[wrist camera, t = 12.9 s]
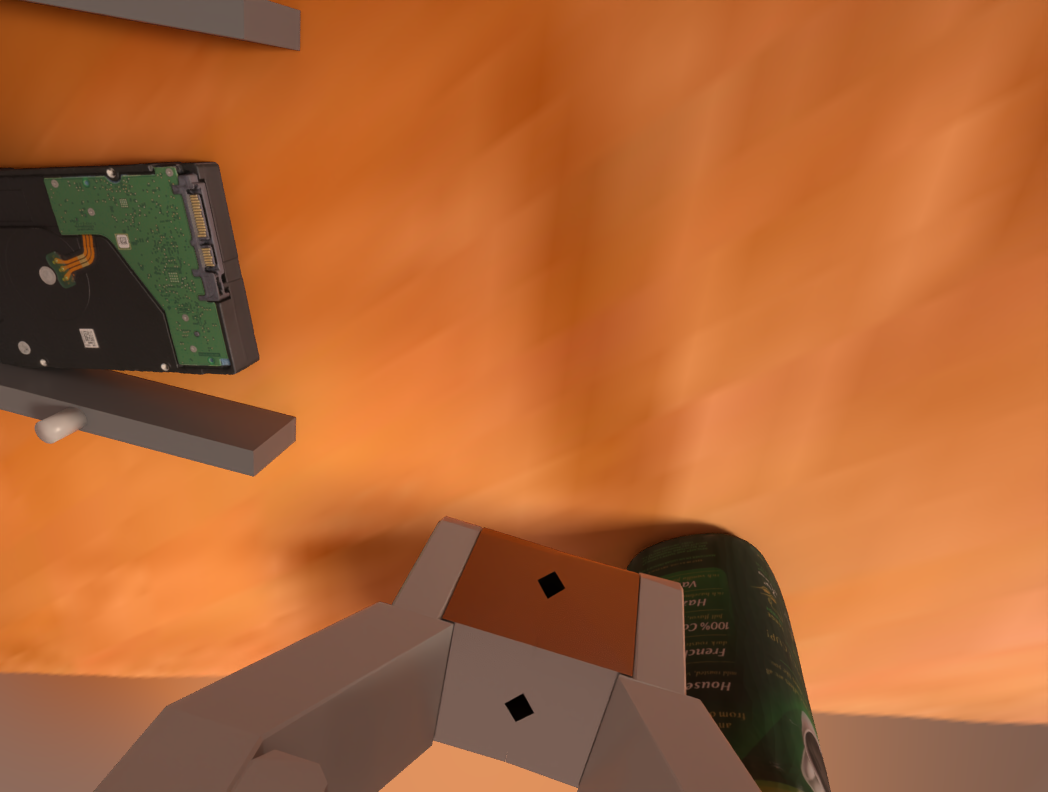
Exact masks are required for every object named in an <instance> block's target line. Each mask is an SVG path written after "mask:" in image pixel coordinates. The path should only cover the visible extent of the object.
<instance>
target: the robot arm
mask: <svg viewBox="0 0 1048 792" xmlns="http://www.w3.org/2000/svg"><path fill="white" fill-rule="evenodd" d="M433 740H434V741H437V742H441V743H444V744H447V745H451V746H454V747H458V748H461V749H464V750H467V751H471V752H474V753H477V754H481V755H485V756H488V757H491V758H494V759H498V760H501V761H504V762H505V760H506V762H507V763H510V764H513V765H516V766H519V767H521V768H524V769H527V770H529V771H532V772H535V773H538V774H541V775H543V776H546V777H549V778H552V779H554V780H557V781H560V782H563V783H565V784H568V785H571V786H574V787H576V788H578V791H577V792H761V790H760V789H759V787H758V786H757V784H756V783H755V781H754V780H753V778H752V777H751V775H750V774H749V772H748V771H747V769H746V768H745V766H744V765H743V763H742V762H741V760H740V759H739V757H738V756H737V754H736V753H735V751H734V750H733V748H732V747H731V745H730V744H729V742H728V741H727V739H726V738H725V736H724V735H723V733H722V732H721V730H720V729H719V727H718V726H717V724H716V723H715V721H714V720H713V718H712V717H711V715H710V714H709V712H708V711H707V709H706V708H705V706H704V705H703V703H702V702H701V700H700V699H697V698H694V697H690V696H687V695H686V664H685V629H684V594H683V588H682V586H681V584H680V583H678V582H674V581H670V580H667V579H663V578H659V577H655V576H651V575H647V574H644V573H639V574H638V573H635V572H632V571H628V570H625V569H621V568H618V567H614V566H610V565H607V564H603V563H600V562H596V561H593V560H589V559H586V558H582V557H578V556H575V555H571V554H568V553H564V552H561V551H559V550H555V549H552V548H549V547H546V546H542V545H539V544H536V543H533V542H530V541H526V540H523V539H520V538H517V537H514V536H510V535H507V534H504V533H501V532H497V531H494V530H491V529H488V528H485V527H484V528H482V527H480V526H477V525H473V524H470V523H467V522H463V521H460V520H457V519H453V518H450V517H447V516H445V517H444V518H443V519H442V520H441V521H439V522H438V524H437V526H436V527H435V529H434V531H433V533H432V534H431V536H430V538H429V540H428V542H427V543H426V545H425V547H424V549H423V550H422V552H421V554H420V556H419V557H418V559H417V561H416V563H415V564H414V566H413V568H412V570H411V571H410V573H409V575H408V577H407V579H406V580H405V582H404V584H403V586H402V587H401V589H400V591H399V593H398V594H397V596H396V598H395V600H394V601H393V603H392V605H390V604H387V603H383V602H380V601H379V602H377V603H375V604H373V605H371V606H369V607H367V608H365V609H363V610H361V611H359V612H357V613H355V614H353V615H351V616H349V617H347V618H344V619H342V620H340V621H338V622H336V623H334V624H332V625H330V626H328V627H326V628H324V629H322V630H320V631H318V632H316V633H314V634H312V635H310V636H308V637H306V638H304V639H302V640H300V641H298V642H296V643H294V644H292V645H290V646H288V647H286V648H283V649H281V650H279V651H277V652H275V653H273V654H271V655H269V656H267V657H265V658H263V659H261V660H259V661H257V662H255V663H253V664H251V665H249V666H247V667H245V668H243V669H241V670H239V671H237V672H235V673H233V674H231V675H229V676H227V677H225V678H222V679H221V680H219V681H216V682H214V683H212V684H210V685H208V686H206V687H204V688H202V689H200V690H198V691H196V692H194V693H192V694H190V695H188V696H186V697H184V698H182V699H180V700H178V701H176V702H174V703H172V704H170V705H168V706H166V707H165V708H164V709H163V711H162V712H161V713H160V714H159V715H158V716H157V718H156V719H155V720H154V721H153V722H152V723H151V724H150V726H149V727H148V728H147V729H146V730H145V732H144V733H143V734H142V735H141V736H140V737H139V739H138V740H137V741H136V742H135V743H134V745H133V746H132V747H131V748H130V749H129V750H128V752H127V753H126V754H125V755H124V756H123V757H122V758H121V760H120V761H119V762H118V763H117V764H116V765H115V767H114V768H113V769H112V770H111V771H110V773H109V774H108V775H107V776H106V777H105V778H104V780H103V781H102V782H101V783H100V784H99V785H98V787H97V788H96V789H95V790H94V791H93V792H378V791H379V790H380V789H382V788H383V787H384V786H385V785H386V784H387V783H389V782H390V781H391V780H392V779H393V778H394V777H396V776H397V775H398V774H399V773H400V772H401V771H403V770H404V769H405V768H406V767H407V766H408V765H410V764H411V763H412V762H413V761H414V760H415V759H417V758H418V757H419V756H420V755H421V754H422V753H424V752H425V751H426V750H427V749H428V748H429V747H430V746H432V742H433ZM506 757H507V758H506Z"/></svg>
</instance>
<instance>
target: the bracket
mask: <svg viewBox="0 0 1048 792" xmlns="http://www.w3.org/2000/svg"><path fill="white" fill-rule="evenodd" d="M20 1H26V2H32V3H37V4H43V5H48V6H54V7H59V8H65V9H71V10H76V11H82V12H87V13H93V14H98V15H104V16H110V17H115V18H121V19H126V20H132V21H137V22H143V23H148V24H154V25H160V26H165V27H171V28H176V29H182V30H187V31H193V32H199V33H204V34H210V35H215V36H221V37H226V38H232V39H238V40H243V41H249V42H254V43H260V44H265V45H271V46H276V47H282V48H288V49H293V50H299V51H300V10H296V9H293V8H290V7H287V6H284V5H280V4H277V3H274V2H271V1H268V0H20ZM0 409H1V410H5V411H9V412H13V413H17V414H20V415H24V416H28V417H32V418H35V419H39V420H42V421H39V422H37V423H36V425H35V432H36V434H37V436H38V437H39V438H40V439H41V440H42V441H44V442H46V443H54V442H56V441H58V440H60V439H62V438H64V437H66V436H68V435H69V434H71V433H73V432H75V431H77V430H81V431H84V432H88V433H92V434H96V435H99V436H103V437H107V438H111V439H114V440H118V441H122V442H126V443H129V444H133V445H137V446H141V447H144V448H148V449H152V450H156V451H160V452H163V453H167V454H171V455H175V456H178V457H182V458H186V459H190V460H193V461H197V462H201V463H205V464H208V465H212V466H216V467H220V468H223V469H227V470H231V471H235V472H239V473H242V474H246V475H250V476H255V475H256V474H257V473H259V472H260V471H261V470H262V469H263V468H264V467H266V466H267V465H268V464H269V463H270V462H271V461H273V460H274V459H275V458H276V457H277V456H278V455H280V454H281V453H282V452H283V451H284V450H285V449H287V448H288V447H289V446H290V445H291V444H292V443H294V442H295V441H296V417H293V416H289V415H285V414H281V413H277V412H273V411H269V410H265V409H261V408H257V407H253V406H249V405H245V404H241V403H237V402H233V401H229V400H225V399H221V398H217V397H213V396H209V395H205V394H201V393H197V392H193V391H189V390H185V389H182V388H178V387H174V386H170V385H166V384H162V383H158V382H154V381H150V380H146V379H142V378H138V377H134V376H130V375H126V374H122V373H118V372H114V371H110V370H102V369H81V368H53V367H42V368H33V367H21V366H13V365H7V364H2V363H1V361H0Z"/></svg>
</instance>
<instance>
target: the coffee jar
mask: <svg viewBox="0 0 1048 792" xmlns="http://www.w3.org/2000/svg"><path fill="white" fill-rule="evenodd" d="M627 570H628V571H632V572H635V573H638V574H639V573H644V574H647V575H651V576H655V577H659V578H663V579H667V580H670V581H674V582H678V583H680V584H681V586H682V588H683V594H684V629H685V664H686V695H687V696H690V697H694V698H697V699H700V700H701V702H702V703H703V705H704V706H705V708H706V709H707V711H708V712H709V714H710V715H711V717H712V718H713V720H714V721H715V723H716V724H717V726H718V727H719V729H720V730H721V732H722V733H723V735H724V736H725V738H726V739H727V741H728V742H729V744H730V745H731V747H732V748H733V750H734V751H735V753H736V754H737V756H738V757H739V759H740V760H741V762H742V763H743V765H744V766H745V768H746V769H747V771H748V772H749V774H750V775H751V777H752V778H753V780H754V781H755V783H756V784H757V786H758V787H759V789H760V790H761V792H831V790H830V786H829V782H828V777H827V772H826V769H825V765H824V762H823V757H822V753H821V749H820V744H819V740H818V736H817V732H816V728H815V724H814V720H813V716H812V712H811V708H810V704H809V700H808V695H807V691H806V687H805V683H804V679H803V674H802V670H801V665H800V661H799V656H798V652H797V648H796V644H795V640H794V636H793V632H792V628H791V624H790V620H789V616H788V612H787V609H786V606H785V603H784V599H783V596H782V594H781V591H780V588H779V586H778V583H777V581H776V579H775V577H774V574H773V572H772V570H771V569H770V567H769V565H768V563H767V562H766V560H765V558H764V557H763V555H762V554H761V553H760V552H759V551H758V550H757V549H756V548H755V547H754V546H753V545H751V544H750V543H749V542H747V541H745V540H743V539H740V538H738V537H735V536H731V535H727V534H716V533H708V534H695V535H689V536H682V537H678V538H674V539H670V540H667V541H664V542H660V543H658V544H656V545H653V546H651V547H649V548H646V549H645V550H643V551H642V552H640V553H639V554H638V555H636V557H635V558H634V559H633V560H632V561H631V562H630V564H629V565H628V567H627Z"/></svg>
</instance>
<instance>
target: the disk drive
mask: <svg viewBox="0 0 1048 792" xmlns="http://www.w3.org/2000/svg"><path fill="white" fill-rule="evenodd" d="M258 360H259V353H258V348H257V344H256V340H255V336H254V330H253V325H252V320H251V315H250V311H249V306H248V301H247V296H246V291H245V287H244V282H243V278H242V275H241V270H240V266H239V261H238V254H237V249H236V244H235V240H234V235H233V230H232V226H231V221H230V217H229V212H228V207H227V202H226V198H225V193H224V189H223V183H222V179H221V174H220V169H219V165H218V164H217V163H215V162H199V163H191V162H190V163H181V162H160V163H148V164H134V165H108V166H78V167H50V168H23V169H14V168H0V361H1V363H2V364H7V365H13V366H21V367H33V368H42V367H53V368H81V369H102V370H107V369H109V370H122V371H124V370H130V371H135V370H136V371H153V372H179V373H187V374H189V373H190V374H206V373H211V374H224V375H226V374H229V375H231V374H232V375H233V374H236V373H238V372H240V371H242V370H244V369H245V368H247V367H248V366H250V365H252V364H253V363H255V362H257V361H258Z"/></svg>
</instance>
